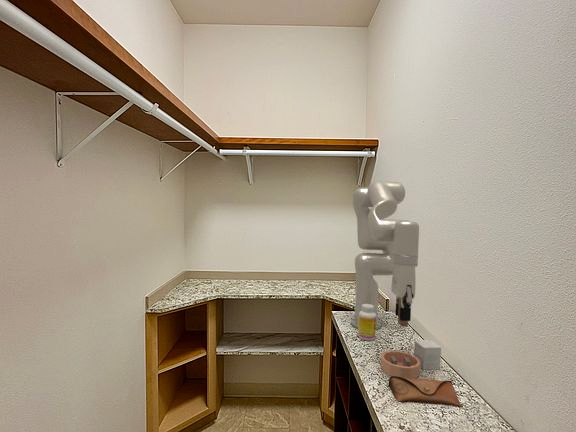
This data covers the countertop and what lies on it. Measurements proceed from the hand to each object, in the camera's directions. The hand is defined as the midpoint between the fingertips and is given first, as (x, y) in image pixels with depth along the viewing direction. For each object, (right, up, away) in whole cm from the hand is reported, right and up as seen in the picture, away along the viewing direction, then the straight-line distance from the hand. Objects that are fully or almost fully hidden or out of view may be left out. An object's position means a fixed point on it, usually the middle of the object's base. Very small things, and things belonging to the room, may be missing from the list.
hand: (402, 317), depth 105 cm
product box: (+9, -17, +5) cm, 20 cm away
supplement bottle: (-5, -16, +26) cm, 31 cm away
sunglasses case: (+1, -18, -13) cm, 23 cm away
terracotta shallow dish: (-1, -17, +1) cm, 17 cm away
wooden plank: (0, -2, 0) cm, 2 cm away
